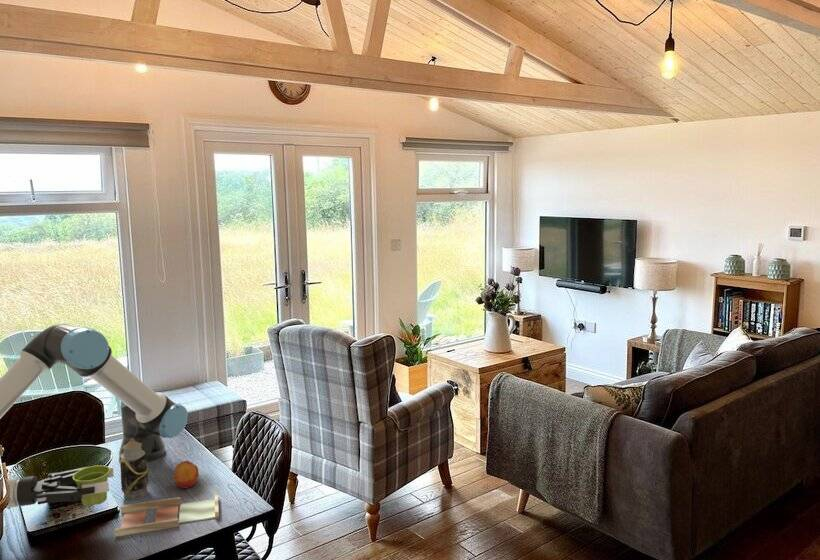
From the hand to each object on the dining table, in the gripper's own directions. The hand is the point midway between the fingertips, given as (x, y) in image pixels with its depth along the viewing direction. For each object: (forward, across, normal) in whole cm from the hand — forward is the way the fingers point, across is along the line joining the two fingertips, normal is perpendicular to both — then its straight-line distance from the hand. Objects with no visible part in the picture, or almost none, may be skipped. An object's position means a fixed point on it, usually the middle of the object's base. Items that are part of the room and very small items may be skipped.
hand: (110, 478), depth 176 cm
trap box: (+15, 0, -14) cm, 20 cm away
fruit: (+19, -18, -14) cm, 30 cm away
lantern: (+4, -17, -14) cm, 23 cm away
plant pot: (-5, 0, -6) cm, 8 cm away
